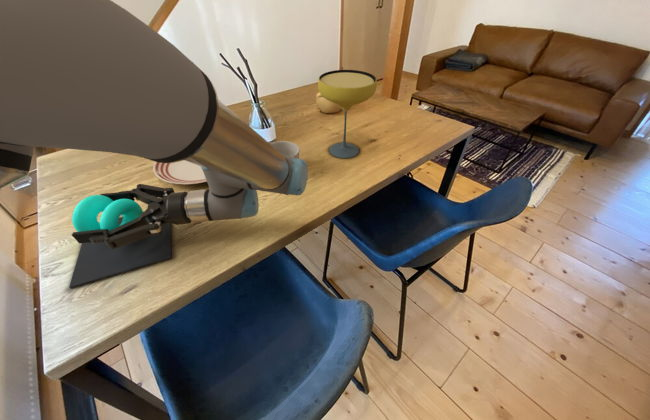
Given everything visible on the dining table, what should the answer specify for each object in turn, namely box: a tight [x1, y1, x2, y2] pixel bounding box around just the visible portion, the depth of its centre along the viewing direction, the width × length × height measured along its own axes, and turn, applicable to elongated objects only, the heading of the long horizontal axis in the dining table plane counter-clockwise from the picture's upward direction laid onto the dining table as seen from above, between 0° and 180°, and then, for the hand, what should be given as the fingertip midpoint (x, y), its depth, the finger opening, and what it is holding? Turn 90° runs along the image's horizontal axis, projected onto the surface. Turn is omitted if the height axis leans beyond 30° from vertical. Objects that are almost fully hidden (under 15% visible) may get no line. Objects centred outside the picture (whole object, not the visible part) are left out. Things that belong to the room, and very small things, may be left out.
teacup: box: [269, 140, 300, 159], centre depth 88 cm, size 14×11×8 cm
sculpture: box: [315, 91, 342, 114], centre depth 124 cm, size 12×12×11 cm
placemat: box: [68, 211, 172, 289], centre depth 68 cm, size 20×20×1 cm
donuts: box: [71, 194, 144, 232], centre depth 63 cm, size 10×10×10 cm
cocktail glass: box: [317, 69, 378, 159], centre depth 92 cm, size 18×18×25 cm
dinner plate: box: [152, 160, 207, 185], centre depth 92 cm, size 28×27×3 cm
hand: (90, 217), depth 62 cm, fingers closed on donuts, 12 cm apart
